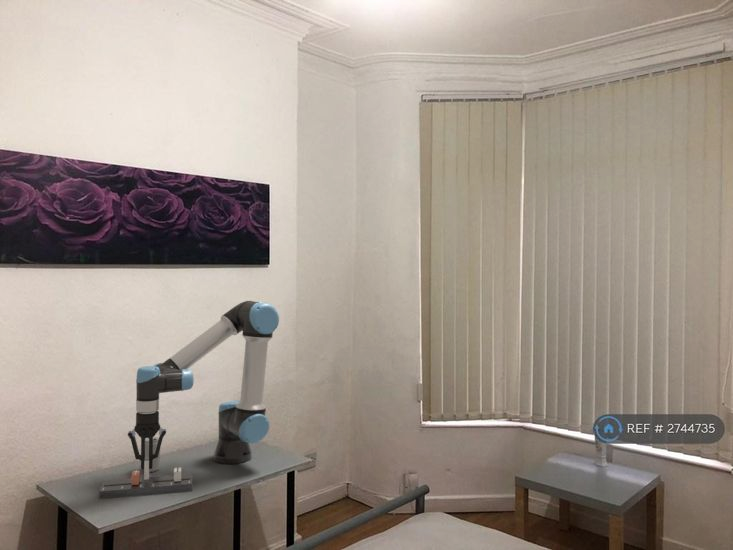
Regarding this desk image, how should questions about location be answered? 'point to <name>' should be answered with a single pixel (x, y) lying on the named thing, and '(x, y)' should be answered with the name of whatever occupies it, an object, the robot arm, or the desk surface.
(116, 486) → the dark grey slider panel
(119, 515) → the desk surface
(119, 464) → the desk surface
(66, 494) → the desk surface
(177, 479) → the fader grey
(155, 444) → the beverage can
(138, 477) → the fader red
